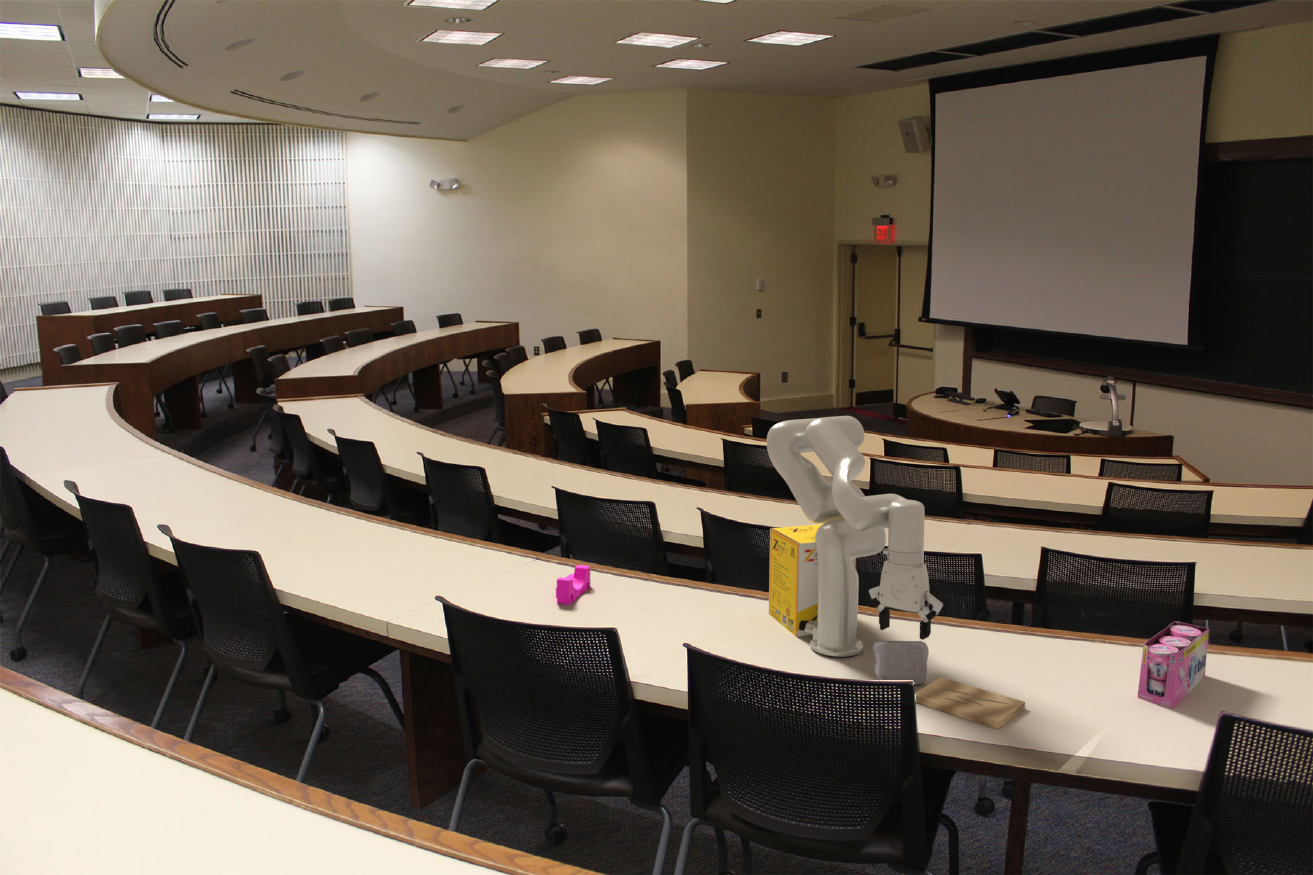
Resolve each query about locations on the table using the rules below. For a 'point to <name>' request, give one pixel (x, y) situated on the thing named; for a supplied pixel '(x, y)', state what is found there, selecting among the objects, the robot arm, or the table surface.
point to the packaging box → (794, 577)
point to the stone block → (901, 660)
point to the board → (969, 702)
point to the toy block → (573, 584)
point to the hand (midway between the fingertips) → (904, 633)
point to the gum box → (1173, 663)
